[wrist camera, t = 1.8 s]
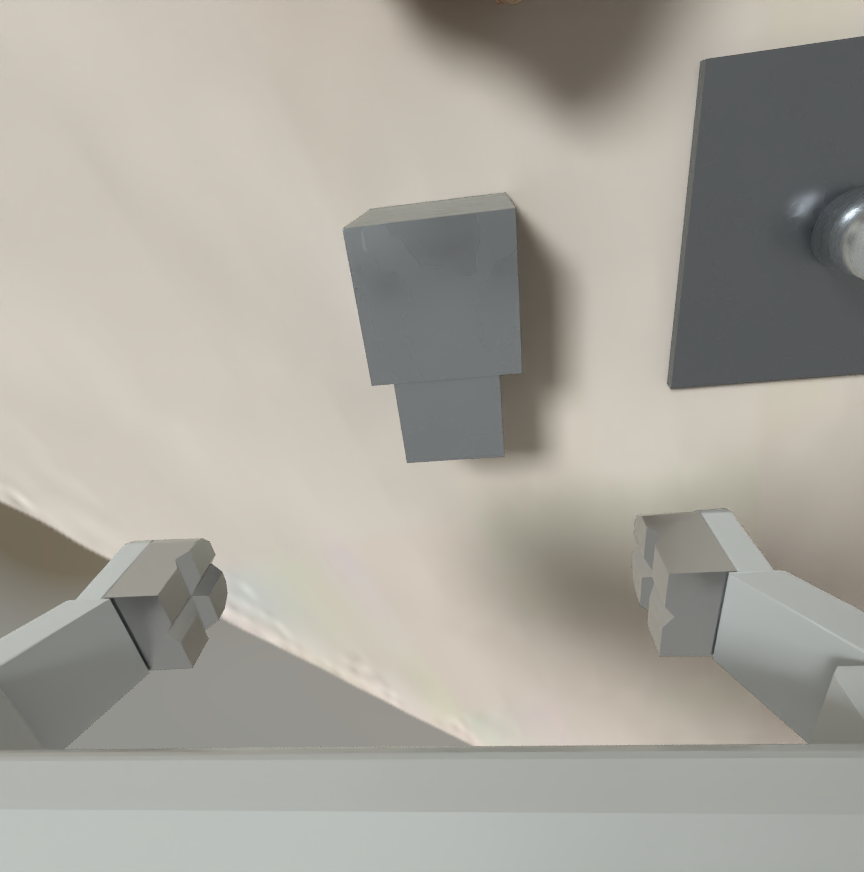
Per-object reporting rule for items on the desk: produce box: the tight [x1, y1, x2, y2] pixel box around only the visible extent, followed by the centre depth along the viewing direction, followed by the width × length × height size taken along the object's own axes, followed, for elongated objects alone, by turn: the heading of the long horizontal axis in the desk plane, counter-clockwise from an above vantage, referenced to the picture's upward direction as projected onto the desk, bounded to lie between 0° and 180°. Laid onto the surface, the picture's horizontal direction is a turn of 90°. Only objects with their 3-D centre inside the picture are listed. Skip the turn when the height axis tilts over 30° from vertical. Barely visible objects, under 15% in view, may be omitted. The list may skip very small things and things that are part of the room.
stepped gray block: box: [342, 192, 522, 463], centre depth 24 cm, size 10×6×6 cm, turn 7°
